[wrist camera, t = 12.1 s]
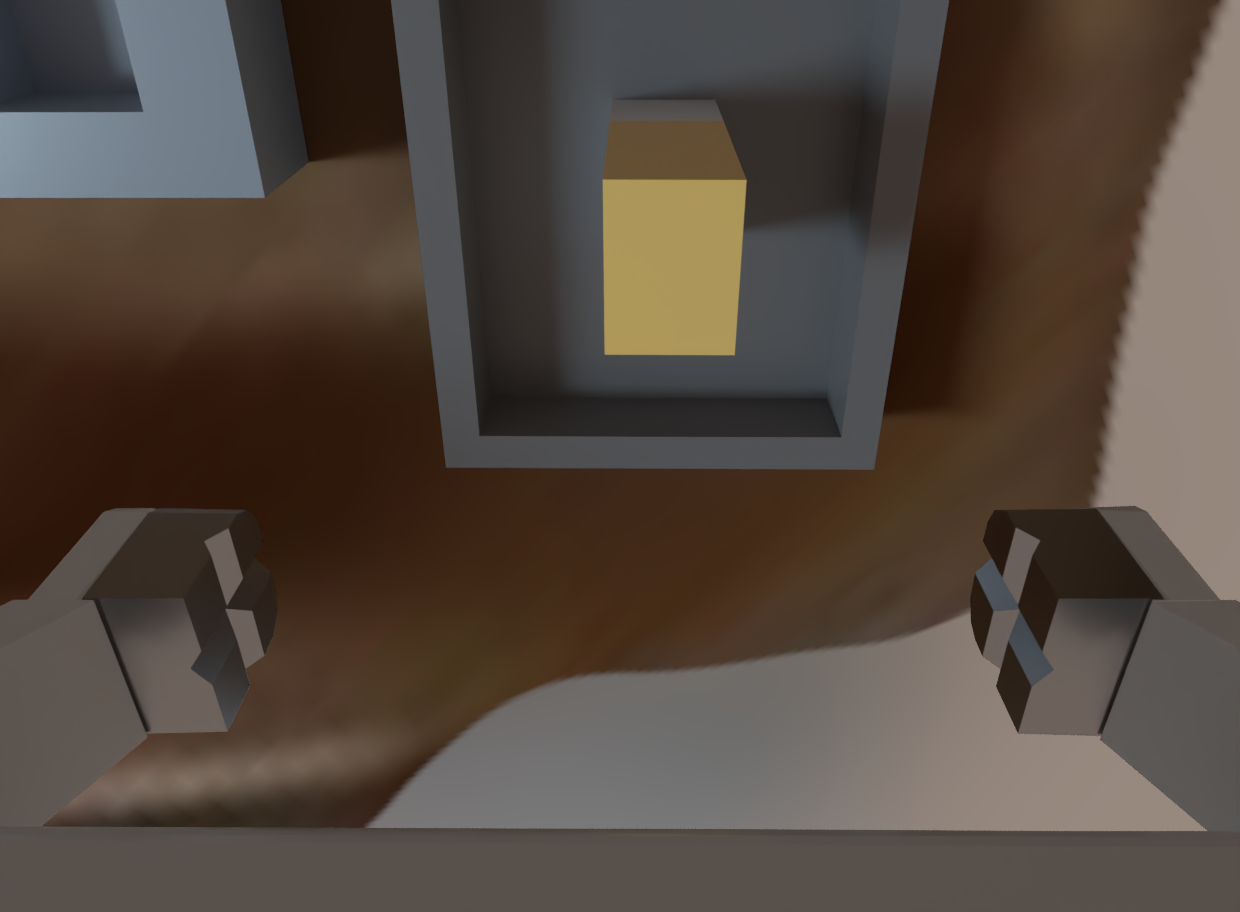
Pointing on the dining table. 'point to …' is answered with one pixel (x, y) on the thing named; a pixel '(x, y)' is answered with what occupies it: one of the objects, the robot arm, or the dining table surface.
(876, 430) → the parts tray
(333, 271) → the dining table surface
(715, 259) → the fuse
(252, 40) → the socket block
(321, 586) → the dining table surface
